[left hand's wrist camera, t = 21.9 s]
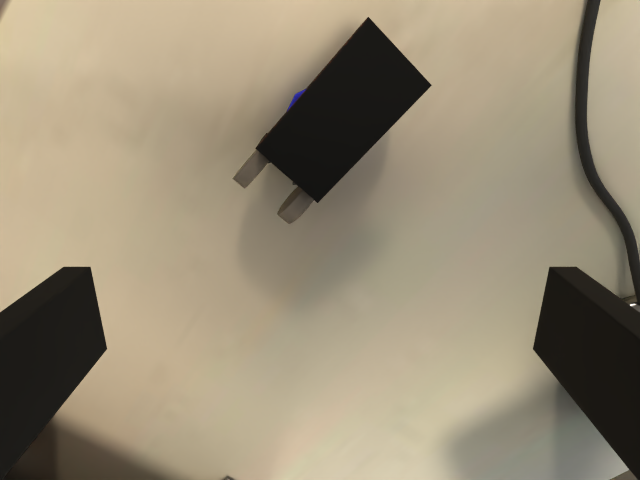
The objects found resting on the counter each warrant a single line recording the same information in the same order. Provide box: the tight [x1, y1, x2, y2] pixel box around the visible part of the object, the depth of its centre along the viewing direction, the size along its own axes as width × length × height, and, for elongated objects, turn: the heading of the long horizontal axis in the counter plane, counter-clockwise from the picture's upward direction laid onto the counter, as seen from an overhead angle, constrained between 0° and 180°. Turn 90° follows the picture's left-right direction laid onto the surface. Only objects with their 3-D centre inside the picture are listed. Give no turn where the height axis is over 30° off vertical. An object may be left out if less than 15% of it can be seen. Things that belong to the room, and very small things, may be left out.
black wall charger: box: [233, 17, 431, 224], centre depth 33 cm, size 7×8×15 cm
